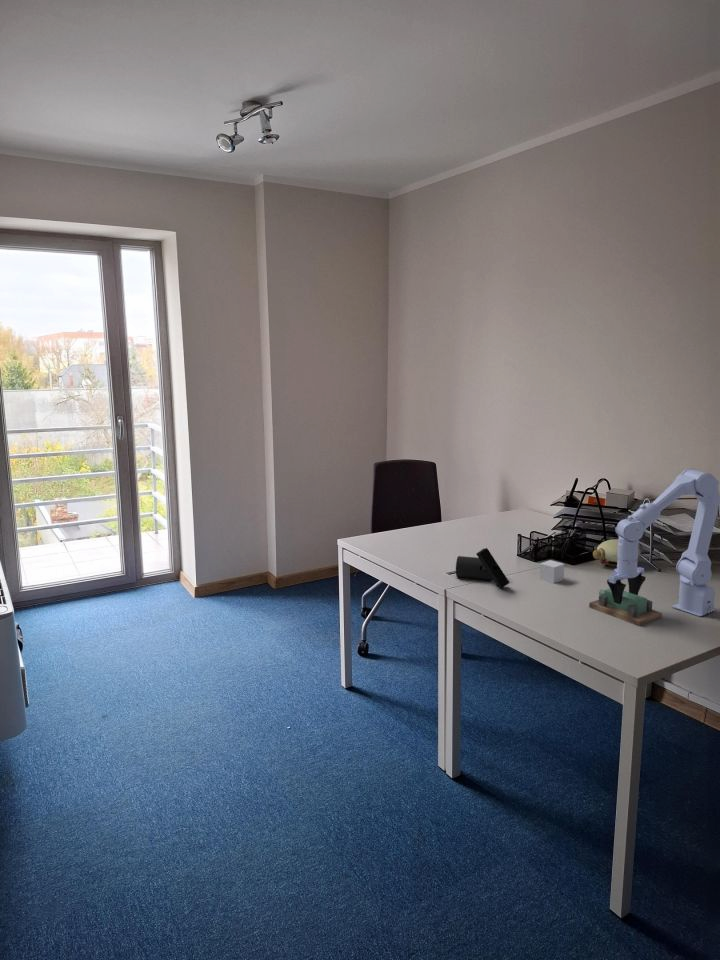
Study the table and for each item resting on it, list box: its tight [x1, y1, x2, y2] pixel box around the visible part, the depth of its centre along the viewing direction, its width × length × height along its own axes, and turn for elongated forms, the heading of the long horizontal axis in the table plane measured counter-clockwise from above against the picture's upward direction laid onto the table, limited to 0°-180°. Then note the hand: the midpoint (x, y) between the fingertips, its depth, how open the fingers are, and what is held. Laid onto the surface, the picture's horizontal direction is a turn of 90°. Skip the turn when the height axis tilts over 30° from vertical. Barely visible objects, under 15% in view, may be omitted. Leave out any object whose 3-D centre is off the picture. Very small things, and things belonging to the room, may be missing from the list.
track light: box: [455, 547, 511, 589], centre depth 234 cm, size 15×14×20 cm
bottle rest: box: [588, 595, 663, 627], centre depth 203 cm, size 18×11×4 cm, turn 32°
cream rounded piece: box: [592, 538, 642, 567], centre depth 248 cm, size 9×16×18 cm
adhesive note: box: [539, 559, 565, 584], centre depth 234 cm, size 6×6×6 cm
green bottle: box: [598, 588, 648, 615], centre depth 204 cm, size 15×4×4 cm, turn 32°
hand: (625, 600), depth 203 cm, fingers open, 7 cm apart
